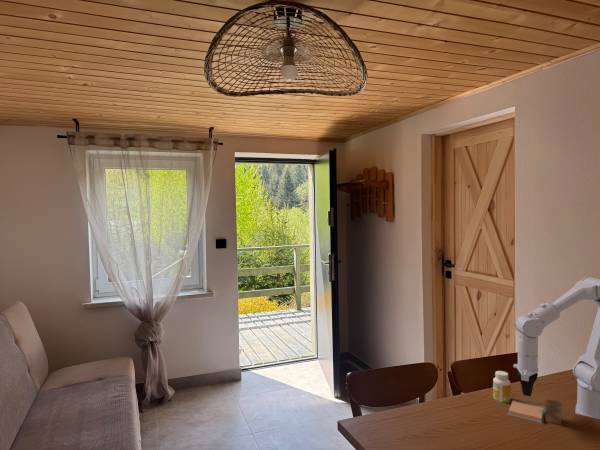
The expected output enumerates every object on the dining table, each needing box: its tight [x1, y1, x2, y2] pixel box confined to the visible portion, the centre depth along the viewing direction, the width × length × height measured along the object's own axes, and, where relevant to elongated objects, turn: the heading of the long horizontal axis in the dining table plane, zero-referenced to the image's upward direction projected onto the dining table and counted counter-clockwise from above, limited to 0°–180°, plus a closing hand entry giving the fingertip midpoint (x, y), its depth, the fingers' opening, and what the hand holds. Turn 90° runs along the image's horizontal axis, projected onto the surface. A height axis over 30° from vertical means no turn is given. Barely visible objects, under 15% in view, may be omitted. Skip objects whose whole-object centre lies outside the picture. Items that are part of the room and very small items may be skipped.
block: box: [545, 399, 563, 426], centre depth 127 cm, size 4×4×6 cm
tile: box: [508, 400, 544, 424], centre depth 131 cm, size 9×1×8 cm
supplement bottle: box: [492, 370, 511, 403], centre depth 141 cm, size 5×5×10 cm
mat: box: [506, 399, 546, 425], centre depth 133 cm, size 10×13×1 cm
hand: (527, 395), depth 133 cm, fingers closed
